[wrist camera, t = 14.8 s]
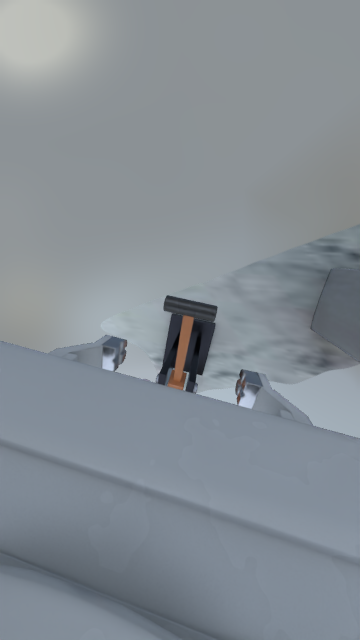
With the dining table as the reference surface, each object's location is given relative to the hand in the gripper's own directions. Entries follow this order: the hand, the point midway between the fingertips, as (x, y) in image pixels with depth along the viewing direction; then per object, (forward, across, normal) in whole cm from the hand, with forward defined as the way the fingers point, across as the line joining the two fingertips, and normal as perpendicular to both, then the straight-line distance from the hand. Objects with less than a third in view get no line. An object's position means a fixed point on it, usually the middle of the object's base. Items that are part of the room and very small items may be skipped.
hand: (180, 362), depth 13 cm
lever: (+10, +1, +4) cm, 11 cm away
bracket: (+26, +1, +11) cm, 28 cm away
